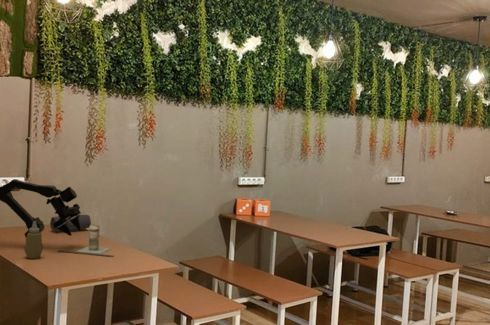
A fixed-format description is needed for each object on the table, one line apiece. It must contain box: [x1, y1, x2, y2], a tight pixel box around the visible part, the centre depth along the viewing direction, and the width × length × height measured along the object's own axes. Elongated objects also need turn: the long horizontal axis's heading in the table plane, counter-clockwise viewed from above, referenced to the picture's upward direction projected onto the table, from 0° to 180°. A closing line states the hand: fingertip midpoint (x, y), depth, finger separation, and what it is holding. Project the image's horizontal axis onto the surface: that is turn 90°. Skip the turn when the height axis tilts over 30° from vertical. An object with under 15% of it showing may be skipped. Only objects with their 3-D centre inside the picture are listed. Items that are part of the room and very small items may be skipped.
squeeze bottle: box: [24, 221, 44, 260], centre depth 255 cm, size 8×8×18 cm
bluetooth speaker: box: [49, 214, 92, 232], centre depth 325 cm, size 23×9×10 cm, turn 133°
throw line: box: [58, 250, 115, 258], centre depth 268 cm, size 30×2×1 cm, turn 80°
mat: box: [75, 245, 111, 254], centre depth 277 cm, size 13×13×1 cm
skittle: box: [88, 224, 100, 251], centre depth 276 cm, size 5×5×13 cm
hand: (75, 232), depth 276 cm, fingers open, 9 cm apart
